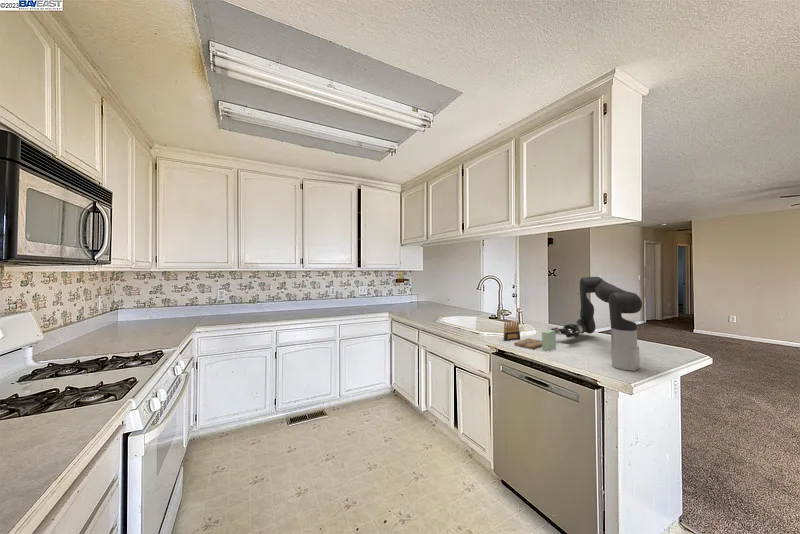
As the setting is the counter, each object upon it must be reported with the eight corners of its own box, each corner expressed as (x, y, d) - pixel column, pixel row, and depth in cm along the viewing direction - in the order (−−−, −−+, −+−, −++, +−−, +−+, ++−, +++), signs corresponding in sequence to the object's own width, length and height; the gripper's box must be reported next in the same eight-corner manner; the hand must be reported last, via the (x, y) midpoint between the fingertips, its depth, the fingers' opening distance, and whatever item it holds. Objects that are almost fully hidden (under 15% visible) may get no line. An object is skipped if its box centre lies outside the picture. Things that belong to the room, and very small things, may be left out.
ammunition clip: (518, 338, 186) (517, 319, 186) (520, 339, 184) (519, 320, 184) (503, 340, 183) (502, 321, 183) (505, 341, 181) (504, 321, 181)
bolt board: (548, 344, 170) (548, 341, 170) (533, 349, 162) (533, 346, 162) (528, 340, 180) (528, 338, 180) (514, 345, 171) (514, 342, 171)
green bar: (555, 348, 162) (555, 330, 162) (548, 351, 158) (547, 333, 158) (550, 347, 165) (549, 329, 165) (542, 350, 160) (541, 332, 160)
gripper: (560, 322, 183) (546, 325, 173) (585, 325, 171) (572, 329, 162) (560, 334, 183) (547, 338, 173) (586, 338, 171) (572, 343, 162)
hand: (559, 334), depth 168 cm, fingers open, 8 cm apart
